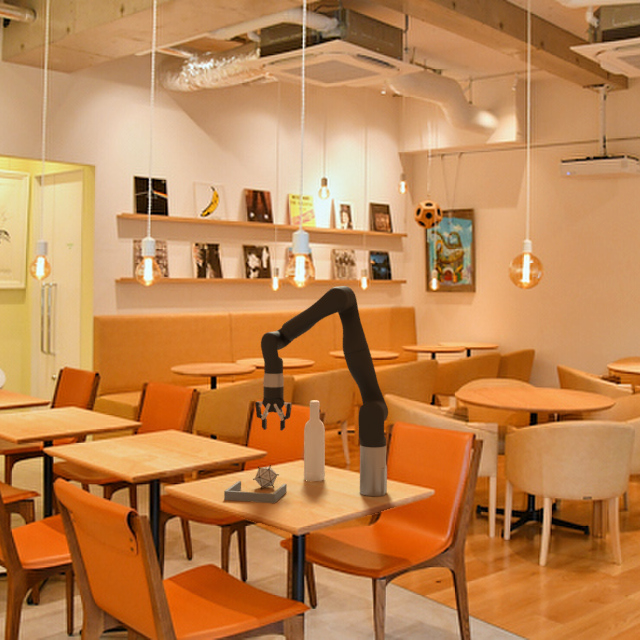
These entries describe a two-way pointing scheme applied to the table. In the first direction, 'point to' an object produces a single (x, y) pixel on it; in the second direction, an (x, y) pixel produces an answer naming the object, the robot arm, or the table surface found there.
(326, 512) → the table surface
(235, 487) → the bay
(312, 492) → the table surface
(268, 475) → the game die
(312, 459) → the bottle
